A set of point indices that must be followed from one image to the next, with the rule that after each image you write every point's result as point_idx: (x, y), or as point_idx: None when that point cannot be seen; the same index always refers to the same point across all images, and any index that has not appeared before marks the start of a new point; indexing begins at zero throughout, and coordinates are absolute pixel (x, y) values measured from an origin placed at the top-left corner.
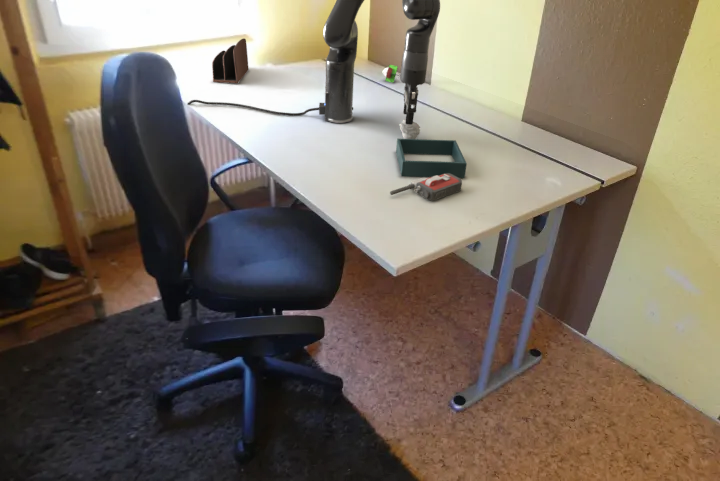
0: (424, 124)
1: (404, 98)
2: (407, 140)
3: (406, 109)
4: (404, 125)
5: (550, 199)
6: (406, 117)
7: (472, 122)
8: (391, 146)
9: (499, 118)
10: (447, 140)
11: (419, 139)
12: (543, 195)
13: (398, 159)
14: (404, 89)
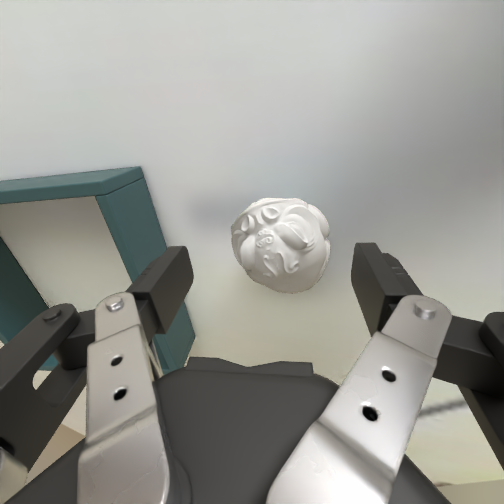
0: (475, 292)
1: (432, 319)
2: (111, 229)
3: (105, 305)
4: (241, 229)
5: (62, 422)
6: (152, 268)
7: (460, 413)
8: (200, 144)
9: (479, 461)
10: (168, 357)
11: (135, 277)
12: (71, 419)
13: (43, 178)
14: (283, 497)
